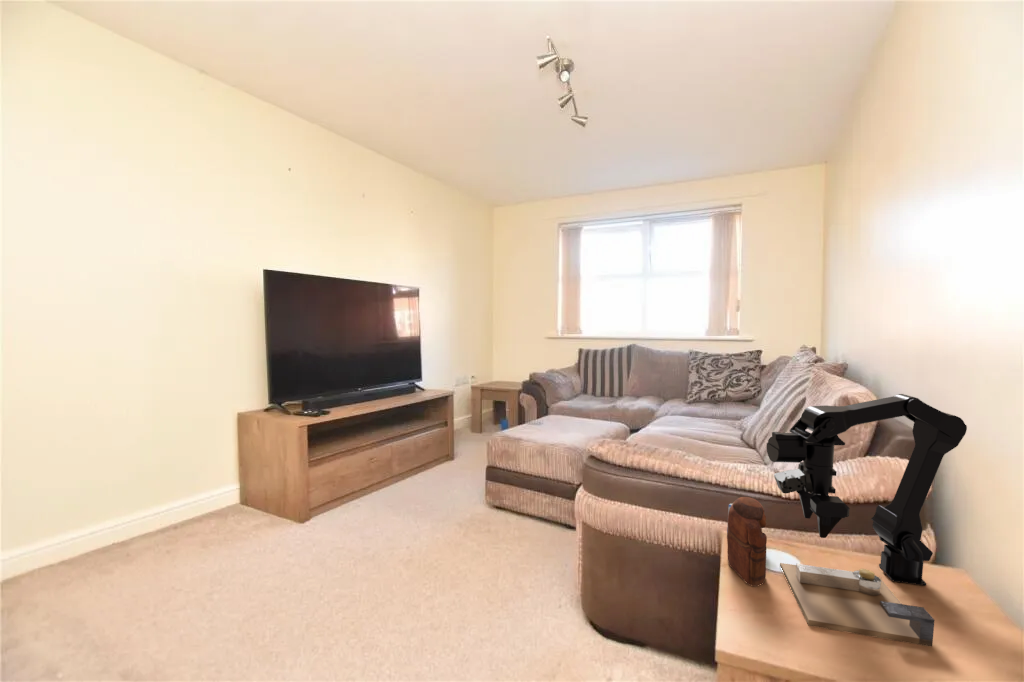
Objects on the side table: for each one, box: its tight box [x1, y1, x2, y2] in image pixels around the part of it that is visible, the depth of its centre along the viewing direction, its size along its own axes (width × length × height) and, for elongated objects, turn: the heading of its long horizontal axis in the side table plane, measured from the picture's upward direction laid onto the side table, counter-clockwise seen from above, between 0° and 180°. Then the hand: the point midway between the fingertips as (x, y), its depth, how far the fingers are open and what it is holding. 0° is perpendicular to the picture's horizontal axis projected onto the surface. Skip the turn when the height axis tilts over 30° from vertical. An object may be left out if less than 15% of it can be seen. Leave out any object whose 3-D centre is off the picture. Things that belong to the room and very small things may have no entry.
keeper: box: [880, 601, 935, 648], centre depth 86 cm, size 7×4×5 cm, turn 73°
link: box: [795, 563, 881, 596], centre depth 100 cm, size 15×5×3 cm, turn 73°
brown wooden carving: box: [726, 496, 768, 587], centre depth 106 cm, size 12×6×18 cm, turn 4°
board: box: [779, 562, 934, 648], centre depth 96 cm, size 20×20×5 cm
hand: (814, 527), depth 106 cm, fingers open, 9 cm apart
